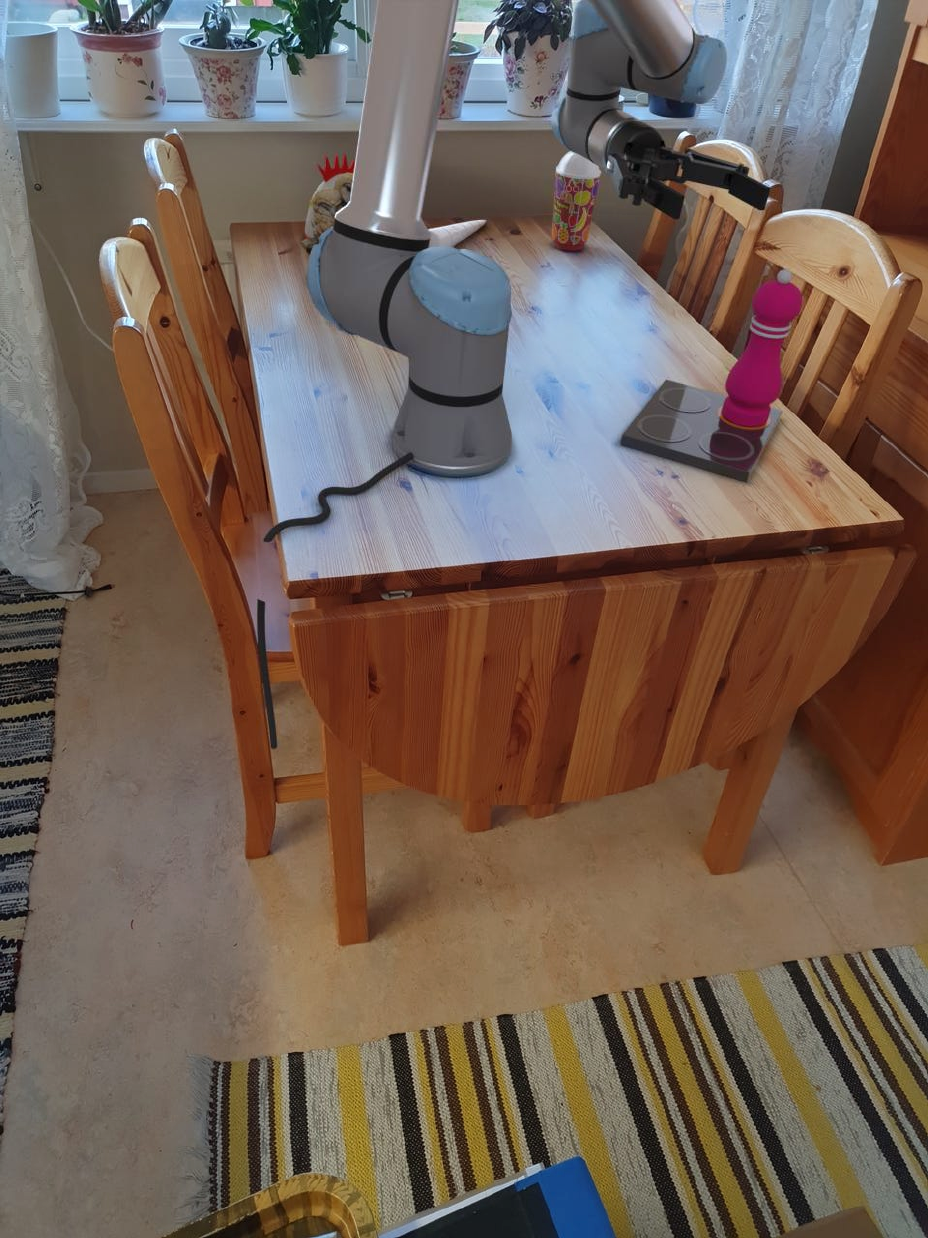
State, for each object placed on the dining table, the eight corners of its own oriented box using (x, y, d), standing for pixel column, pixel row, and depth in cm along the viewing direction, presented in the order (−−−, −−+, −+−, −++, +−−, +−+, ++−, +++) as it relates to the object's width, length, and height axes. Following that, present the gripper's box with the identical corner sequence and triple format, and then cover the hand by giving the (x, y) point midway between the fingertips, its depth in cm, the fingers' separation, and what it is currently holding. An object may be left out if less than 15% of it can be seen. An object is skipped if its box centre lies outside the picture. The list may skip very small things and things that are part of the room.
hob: (746, 482, 116) (750, 471, 115) (619, 444, 121) (622, 434, 120) (779, 420, 129) (782, 410, 128) (663, 388, 135) (666, 378, 134)
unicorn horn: (502, 227, 184) (504, 202, 180) (439, 261, 168) (440, 234, 165) (482, 222, 185) (483, 197, 182) (417, 255, 170) (417, 228, 166)
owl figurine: (314, 299, 151) (309, 189, 140) (293, 273, 159) (286, 166, 148) (415, 287, 158) (418, 181, 147) (390, 263, 166) (391, 160, 154)
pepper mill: (707, 407, 127) (744, 261, 114) (749, 399, 130) (790, 256, 117) (739, 432, 123) (782, 283, 110) (782, 423, 125) (829, 277, 112)
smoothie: (540, 239, 180) (553, 126, 167) (579, 237, 182) (595, 125, 169) (556, 254, 174) (570, 138, 161) (596, 252, 176) (614, 138, 163)
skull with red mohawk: (298, 230, 175) (293, 144, 166) (368, 226, 180) (367, 142, 170) (315, 256, 166) (311, 167, 156) (388, 251, 170) (389, 164, 160)
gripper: (692, 171, 135) (789, 225, 122) (546, 183, 125) (634, 243, 112) (705, 115, 130) (808, 165, 116) (555, 123, 120) (648, 178, 107)
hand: (723, 203), depth 114 cm, fingers open, 13 cm apart
